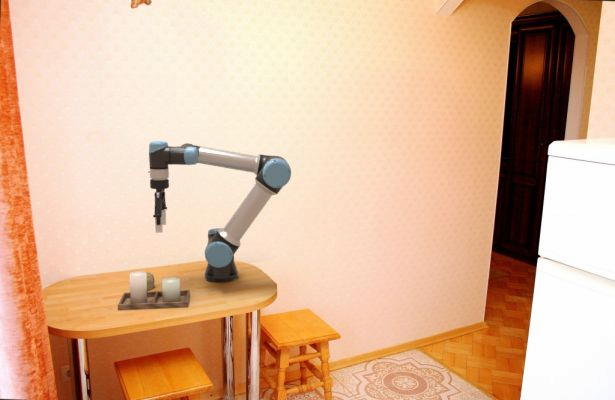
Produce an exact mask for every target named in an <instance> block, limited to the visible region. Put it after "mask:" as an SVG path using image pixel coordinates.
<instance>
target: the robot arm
mask: <svg viewBox="0 0 615 400" xmlns="http://www.w3.org/2000/svg"><path fill="white" fill-rule="evenodd" d="M148 148H149V149H148V159H149V160H148V161H149V170H148V172H147V173H148V174H149V178H150V179H149V186H150V189H152V190H155V192H154V214H153V216H152V217H153V218H154V222H155V223H154V224H155V234H156V233H157V234H158V233H163V232H164V231H163V226H166V225H167V212H166V211H167V210H168V206H167V203H166V202H167V201H166V191H165V189H166V190H167V189H168V188H170V180H169V178H170V177H169V175H170V172H169V170H170V169H169V165H170V166H171V165H179V166H180V165H182V166H193V165H197V164H202V165H208V166H212V167H219V168H225V169H231V170H234V171H242V172H247V173H253V174H255V177H254V178H255V184H254V185H253V187H252V188H251V190H250V191H249V193H248V194H247V195H246V196H245V198H244V200H242V202H241V204H240V205H239V206H238V208H237V209H236V211H235V212H234V213H233V215H232V216H231V217H230V219H229V220H228V221H227V223H226V224H225V226H224V227H223V228H221V227H218V228H211V229H209V230H208V232H207V245H206V247H205V250H204V257H205V260H206V262H207V265H206V268H205V271H204V279H205V280H206V281H208V282H211V283H220V284H221V283H222V284H223V283H230V282H234V281H236V280H237V279H238V278H239V271H238V269H237V268H238V267H237V266H236V263H235V254H236V252H237V251H238V250H239V249H240V247H241V239H243V237H244V235H245V234H246V233H247V231H248V230H249V228H250V227H251V225H252V224H253V222H254V221H255V220H256V218H257V217H258V216H259V214H260V213H261V212H262V211H263V209H264V207H265V206H266V205H267V203H268V202H269V201H270V200H271V198H272V197H273V196H275V195H276V196H277V195H278V194H279V192H280V191H281V190H282V189H283V188H284V187H286V185H287V184H289V182H290V180H291V178H292V177H291V176H292V169H291V166H290V164H289V163H288V162H287V160H286V159H285V158H284V157H282V156H279V155H268V154H267V155H266V154H260V153H259V154H258V155H253V154H248V153H241V152H234V151H229V150H223V149H218V148H213V147H205V146H201V145H196V144H192V143H187V142H186V143H183V144H181V145H180V146H169V144H168V142H167V141H166V140H165V141H163V140H158V141H157V140H154V141H151V142H149V145H148Z"/></svg>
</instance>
